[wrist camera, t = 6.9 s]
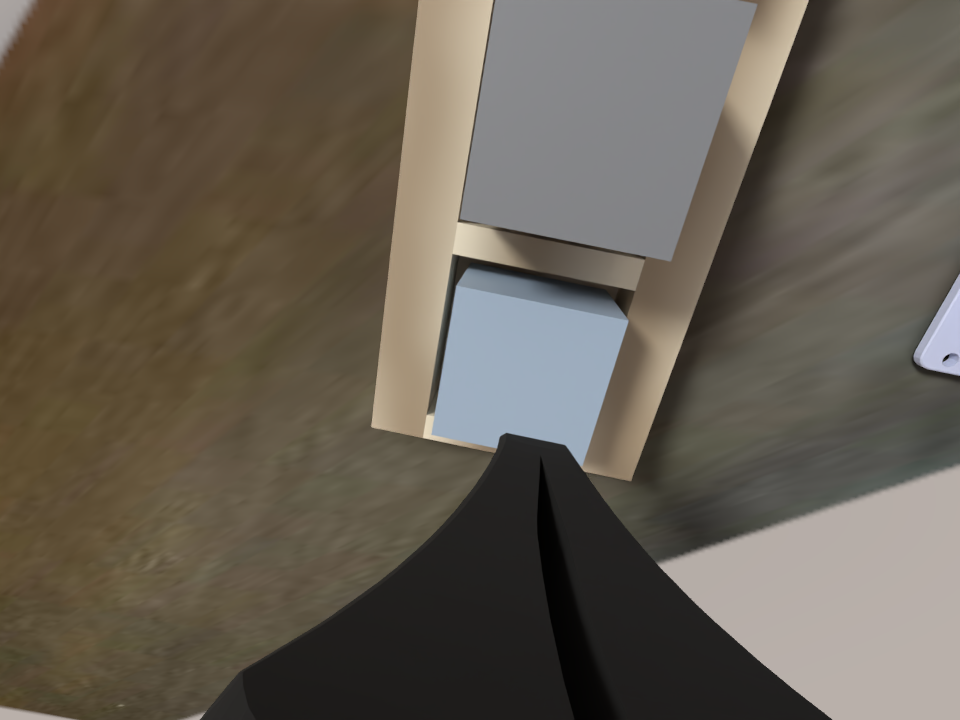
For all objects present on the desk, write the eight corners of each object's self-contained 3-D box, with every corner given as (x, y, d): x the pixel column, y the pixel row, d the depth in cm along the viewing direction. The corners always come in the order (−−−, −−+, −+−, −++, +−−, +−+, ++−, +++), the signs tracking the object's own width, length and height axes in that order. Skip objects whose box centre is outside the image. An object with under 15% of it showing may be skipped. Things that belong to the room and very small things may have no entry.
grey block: (689, 55, 13) (758, 4, 9) (633, 240, 15) (671, 261, 11) (508, 20, 13) (502, -45, 9) (476, 208, 15) (459, 219, 11)
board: (876, -297, 12) (960, -408, 9) (618, 447, 20) (630, 481, 18) (483, -368, 12) (474, -495, 10) (388, 399, 20) (371, 426, 18)
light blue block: (606, 289, 17) (628, 320, 13) (570, 409, 19) (582, 466, 15) (471, 262, 17) (456, 285, 13) (449, 384, 19) (431, 434, 15)
